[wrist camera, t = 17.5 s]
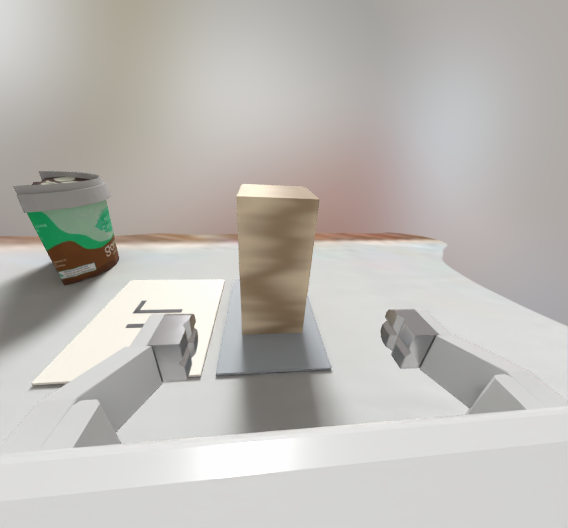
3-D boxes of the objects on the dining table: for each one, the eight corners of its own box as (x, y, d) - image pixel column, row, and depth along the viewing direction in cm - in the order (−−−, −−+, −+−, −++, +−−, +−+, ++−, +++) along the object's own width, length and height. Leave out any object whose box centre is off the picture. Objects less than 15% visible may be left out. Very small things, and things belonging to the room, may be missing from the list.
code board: (32, 385, 14) (30, 382, 13) (131, 281, 24) (130, 279, 24) (330, 369, 16) (331, 367, 16) (301, 280, 26) (302, 279, 26)
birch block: (242, 334, 18) (236, 196, 13) (245, 297, 22) (242, 183, 17) (302, 332, 19) (319, 199, 14) (293, 297, 23) (304, 186, 18)
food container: (135, 276, 25) (108, 184, 21) (62, 292, 22) (11, 186, 17) (125, 240, 34) (104, 170, 29) (72, 248, 30) (39, 170, 26)
